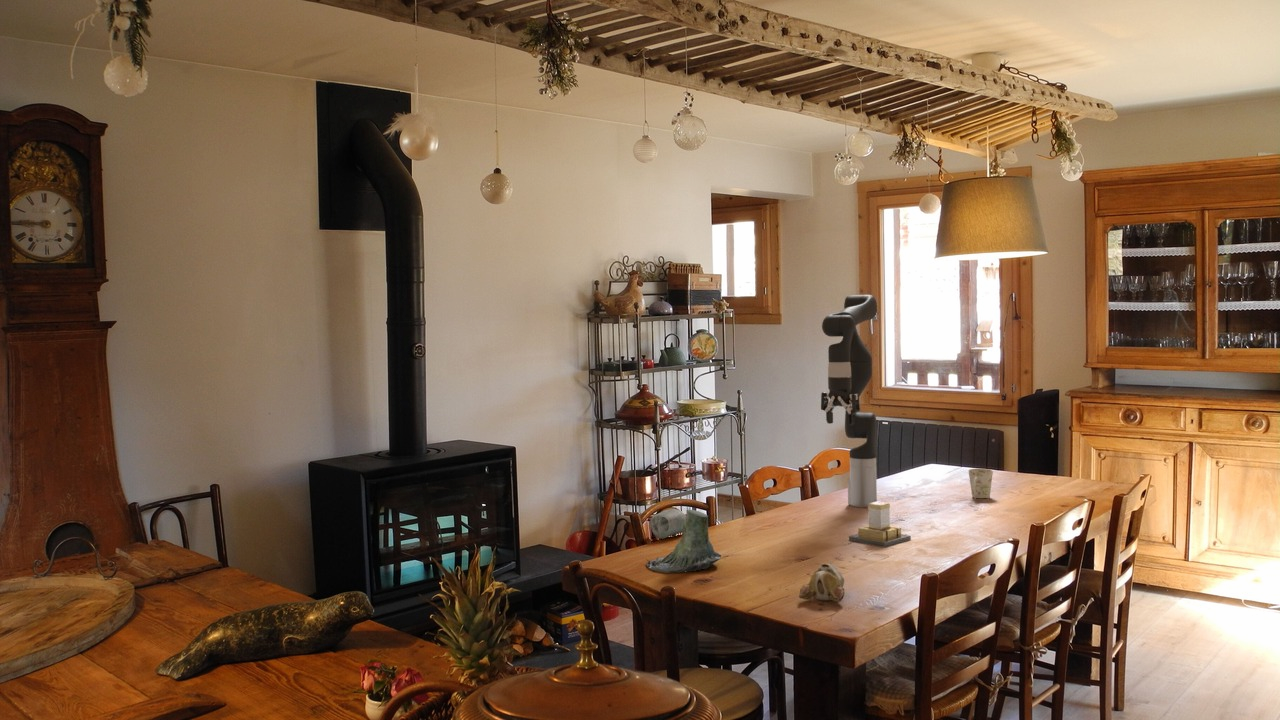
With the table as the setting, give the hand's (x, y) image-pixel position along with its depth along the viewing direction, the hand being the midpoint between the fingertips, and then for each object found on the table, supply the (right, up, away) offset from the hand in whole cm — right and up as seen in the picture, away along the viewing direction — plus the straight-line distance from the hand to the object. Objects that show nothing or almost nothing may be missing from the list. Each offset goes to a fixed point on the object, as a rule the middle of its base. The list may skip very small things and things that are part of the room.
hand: (840, 424), depth 323 cm
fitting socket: (+6, -33, -28) cm, 44 cm away
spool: (-57, -35, -15) cm, 69 cm away
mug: (+57, -29, +32) cm, 72 cm away
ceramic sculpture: (-21, -37, -87) cm, 96 cm away
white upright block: (+6, -32, -28) cm, 43 cm away
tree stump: (-54, -36, -52) cm, 83 cm away
